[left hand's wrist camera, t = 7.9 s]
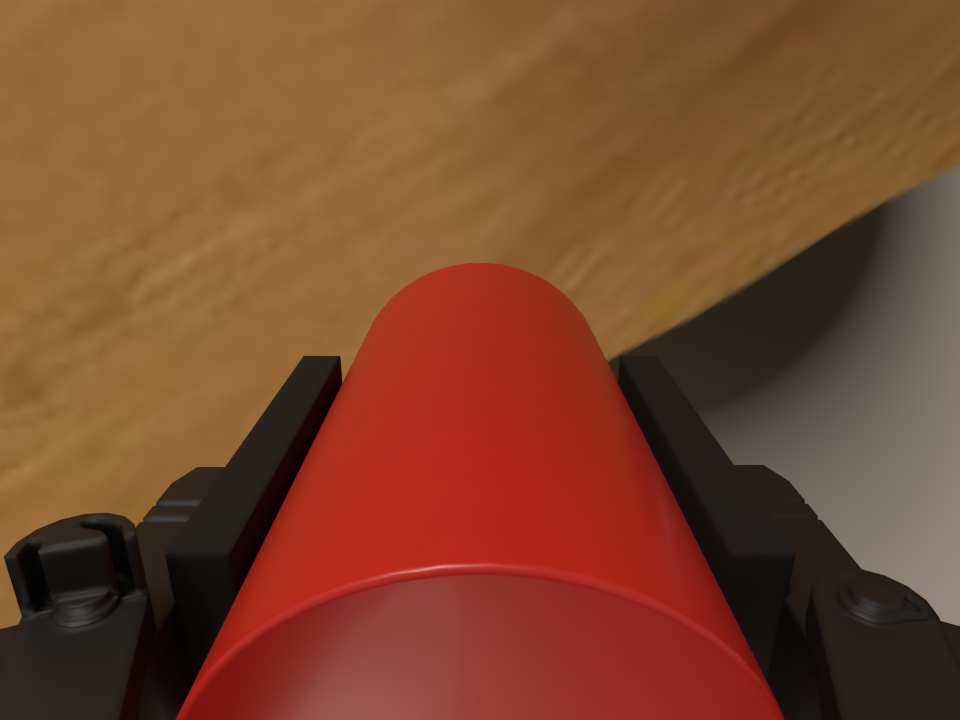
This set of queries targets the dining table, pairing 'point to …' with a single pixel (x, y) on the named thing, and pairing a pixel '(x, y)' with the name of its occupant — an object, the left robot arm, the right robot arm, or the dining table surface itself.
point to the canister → (480, 539)
